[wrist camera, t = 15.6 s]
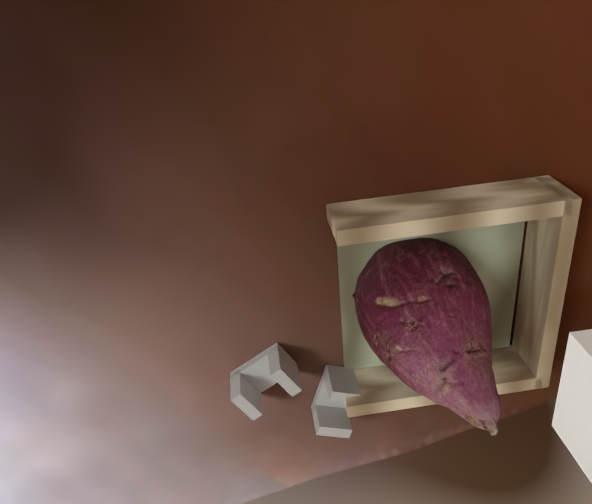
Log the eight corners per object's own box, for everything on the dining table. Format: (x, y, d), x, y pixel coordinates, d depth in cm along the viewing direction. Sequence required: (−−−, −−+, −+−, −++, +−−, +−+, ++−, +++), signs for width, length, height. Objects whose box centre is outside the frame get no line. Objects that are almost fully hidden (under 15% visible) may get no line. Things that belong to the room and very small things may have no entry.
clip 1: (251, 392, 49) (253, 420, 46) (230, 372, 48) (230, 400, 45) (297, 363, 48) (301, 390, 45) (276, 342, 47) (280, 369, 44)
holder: (338, 380, 50) (347, 417, 46) (326, 204, 41) (336, 230, 37) (523, 353, 51) (548, 387, 47) (548, 175, 42) (582, 198, 38)
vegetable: (467, 282, 50) (590, 416, 39) (369, 344, 50) (463, 494, 39) (438, 204, 43) (578, 341, 32) (324, 277, 43) (424, 437, 32)
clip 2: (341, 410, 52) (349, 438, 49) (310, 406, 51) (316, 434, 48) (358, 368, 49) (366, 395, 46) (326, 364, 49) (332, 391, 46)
